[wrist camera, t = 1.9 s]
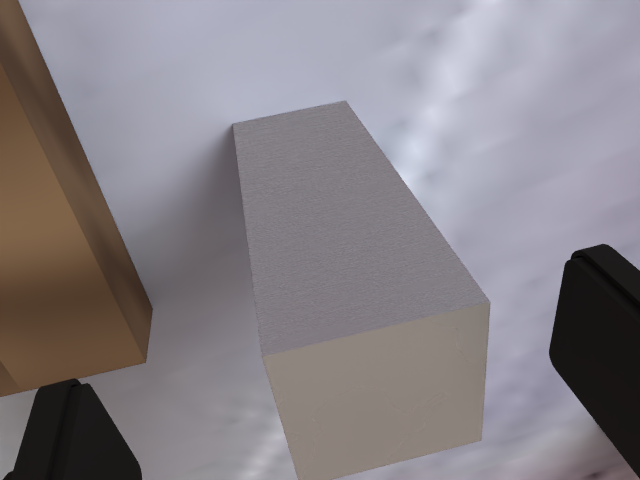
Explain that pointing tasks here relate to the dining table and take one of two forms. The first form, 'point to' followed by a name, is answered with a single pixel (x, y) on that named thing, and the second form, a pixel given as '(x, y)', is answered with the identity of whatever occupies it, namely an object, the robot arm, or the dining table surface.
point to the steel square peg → (356, 299)
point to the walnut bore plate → (56, 237)
